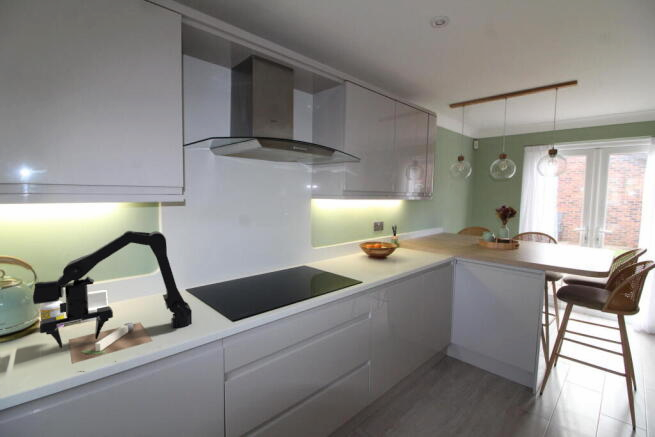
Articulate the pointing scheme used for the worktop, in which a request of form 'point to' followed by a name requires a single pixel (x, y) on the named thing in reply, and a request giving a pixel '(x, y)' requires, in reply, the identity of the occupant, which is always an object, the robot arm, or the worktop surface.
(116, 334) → the dial needle
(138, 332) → the board
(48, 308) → the supplement bottle
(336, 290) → the worktop surface
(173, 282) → the robot arm
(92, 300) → the white open-front box
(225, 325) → the worktop surface
